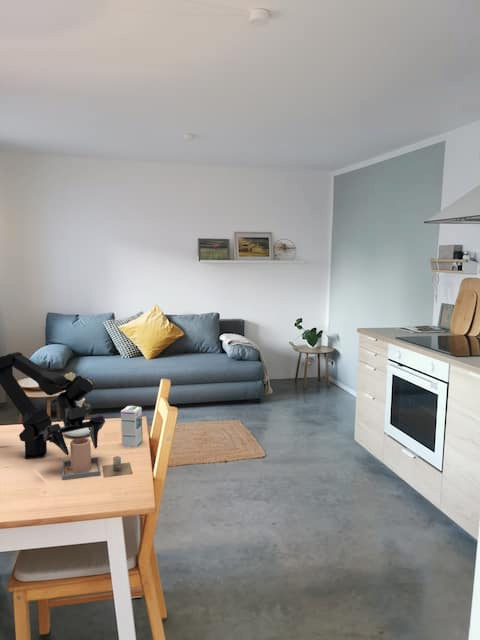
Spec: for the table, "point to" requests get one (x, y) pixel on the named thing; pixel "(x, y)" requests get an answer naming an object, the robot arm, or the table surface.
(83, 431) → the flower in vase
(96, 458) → the charcoal tray
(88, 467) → the ring tube
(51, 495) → the table surface
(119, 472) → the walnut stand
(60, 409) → the robot arm
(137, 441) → the syrup box
